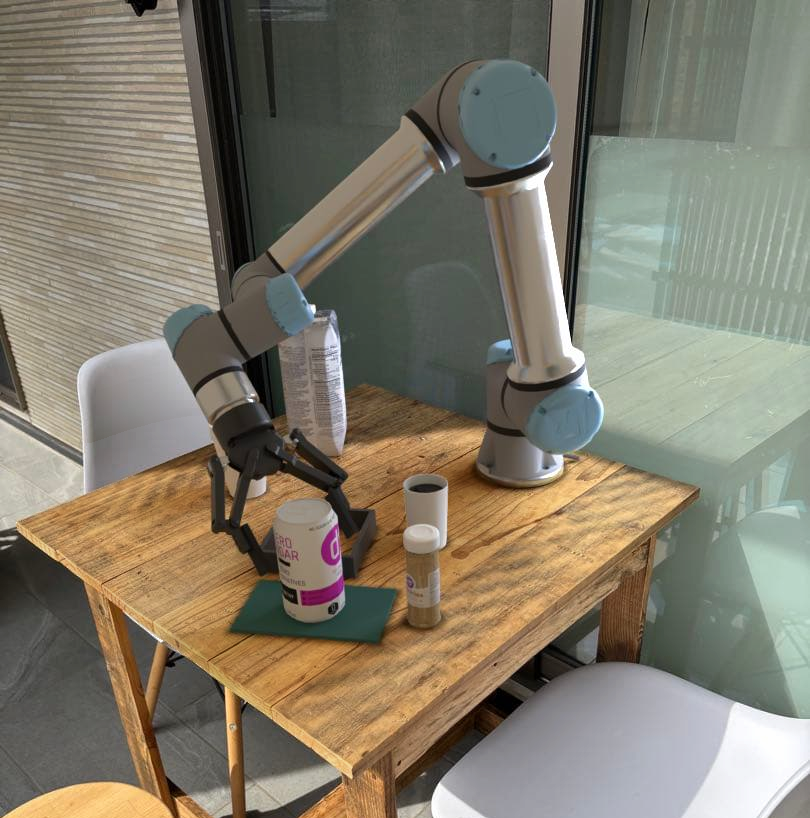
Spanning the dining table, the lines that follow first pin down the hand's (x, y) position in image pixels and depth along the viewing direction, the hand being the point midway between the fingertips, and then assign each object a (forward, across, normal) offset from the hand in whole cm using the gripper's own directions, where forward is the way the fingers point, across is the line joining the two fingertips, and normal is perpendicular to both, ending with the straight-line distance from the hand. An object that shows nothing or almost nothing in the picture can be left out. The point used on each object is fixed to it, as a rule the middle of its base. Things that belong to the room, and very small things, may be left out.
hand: (310, 553), depth 110 cm
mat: (+6, 0, -7) cm, 9 cm away
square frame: (-3, -10, -16) cm, 19 cm away
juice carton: (-24, -31, -38) cm, 55 cm away
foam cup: (-21, -12, -34) cm, 42 cm away
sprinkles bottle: (+15, -9, +1) cm, 17 cm away
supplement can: (+6, 0, -6) cm, 9 cm away
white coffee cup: (+4, -23, -9) cm, 25 cm away
